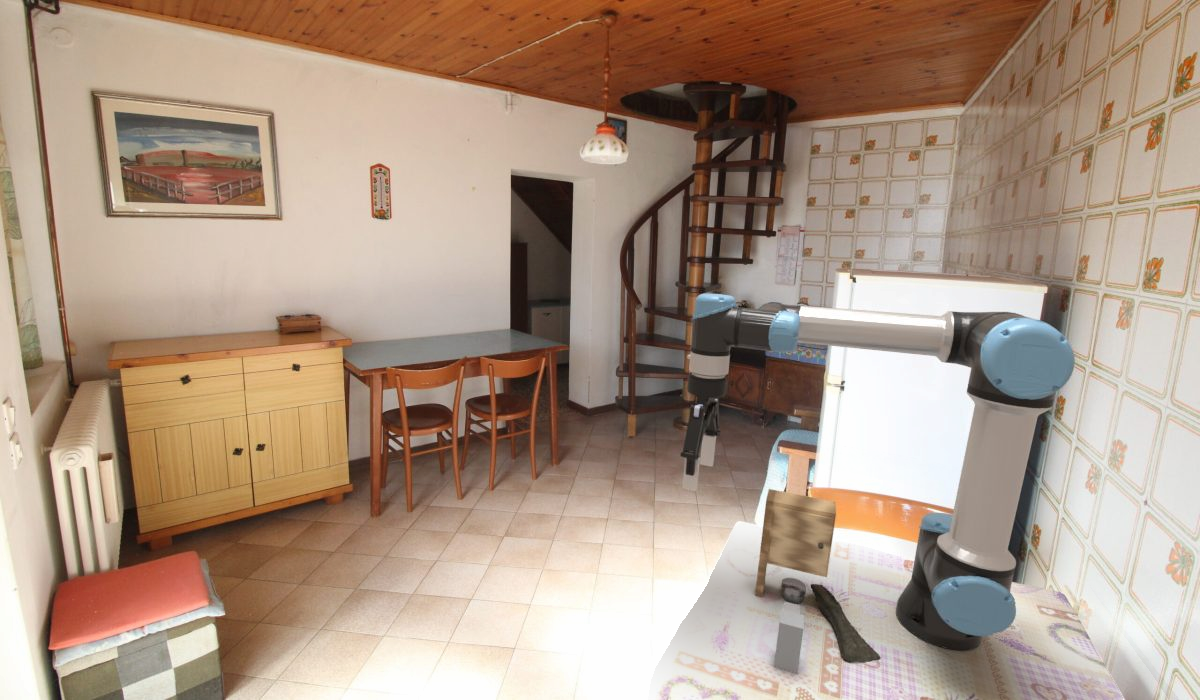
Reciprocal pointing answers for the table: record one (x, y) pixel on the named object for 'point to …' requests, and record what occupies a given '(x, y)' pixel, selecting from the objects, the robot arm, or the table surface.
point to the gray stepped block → (789, 638)
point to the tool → (843, 628)
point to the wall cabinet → (796, 534)
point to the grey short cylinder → (793, 590)
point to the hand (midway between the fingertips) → (698, 476)
